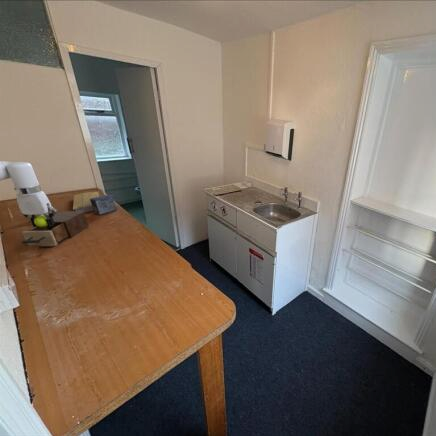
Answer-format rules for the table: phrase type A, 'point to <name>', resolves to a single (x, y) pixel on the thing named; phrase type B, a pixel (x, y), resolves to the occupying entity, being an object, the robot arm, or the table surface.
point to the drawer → (45, 235)
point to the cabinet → (72, 221)
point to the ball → (40, 221)
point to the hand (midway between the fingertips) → (44, 225)
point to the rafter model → (84, 201)
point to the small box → (103, 204)
